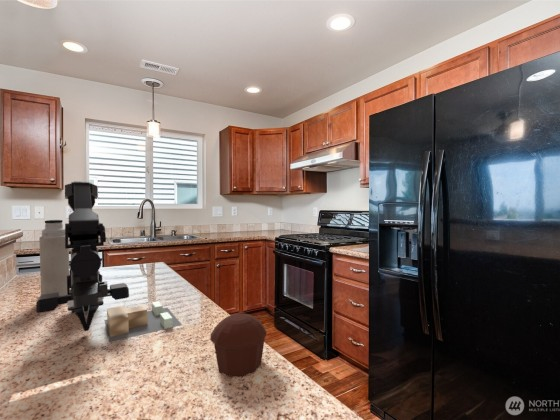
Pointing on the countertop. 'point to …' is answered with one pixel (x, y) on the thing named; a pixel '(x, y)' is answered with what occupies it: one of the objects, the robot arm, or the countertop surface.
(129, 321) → the tee block
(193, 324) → the countertop surface
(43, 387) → the countertop surface
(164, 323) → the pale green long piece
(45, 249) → the thermos bottle
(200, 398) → the countertop surface
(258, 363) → the muffin
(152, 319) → the mat
